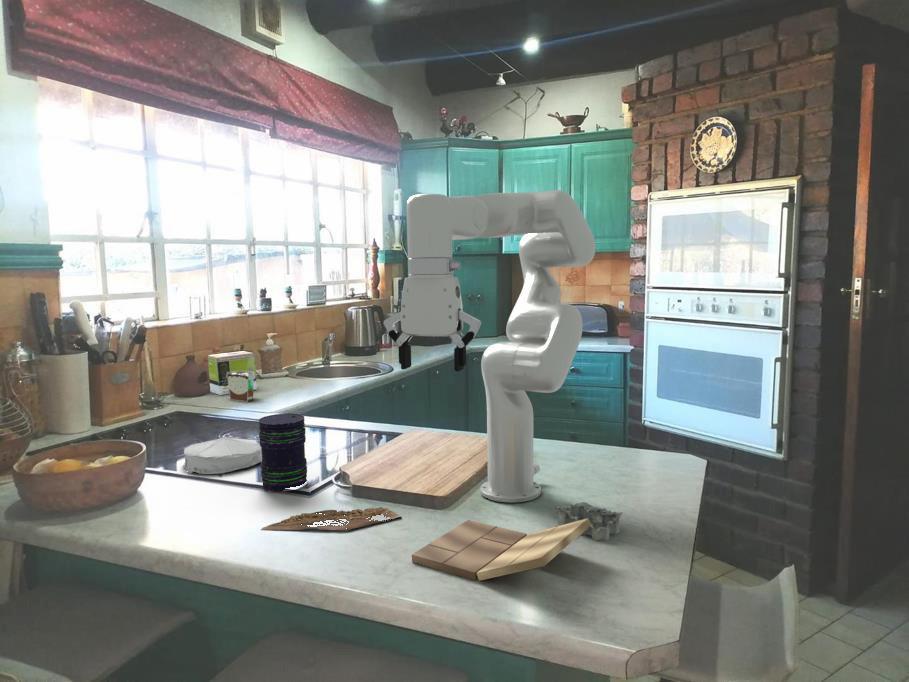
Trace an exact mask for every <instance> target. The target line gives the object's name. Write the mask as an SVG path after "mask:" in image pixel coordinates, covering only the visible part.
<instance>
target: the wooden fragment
mask: <svg viewBox="0 0 909 682" xmlns="http://www.w3.org/2000/svg"><path fill="white" fill-rule="evenodd" d="M374 508H375V509H374ZM337 511H338V510H337V509H325V510H320V511H315V512H309V513H307V512H306V513H303V512H302V513H301V514H296V515H291V516H290V517H289V518H286V519H282V520H280V521H279V522H275V523H270V524H268V525H266V526H264V527H262V528H261V529H260V531H264V530H265V531H270V530H271V531H272V530H273V531H274V530H275V531H276V530H279V531H280V530H281V531H282V530H288V531H289V530H290V531H291V530H292V531H295V530H297V531H298V530H299V531H300V530H321V531H324V530H325V531H343V532H349V531H351V530H354V529H357V528H361V527H362V528H363V527H365V526H370V525H375V524H378V523H382V522H387V521H386V520H385V521H383V520H382V521H378V520H375V521H374V519H373V520H371V518H372V516H376V515H381V514H383V515H384V517H385V516H386V518H387V517H390V520H391V519H392V520H394V519H396V518H400V517H401V518H402V516H401V515H400V514H398V513H396V512H395V511H392V510H390V509H389V508H387V507H383V506H382V507H381V506H379V507H372V508H371V507H370V508H369V507H368V508H365V509H364V511H363V509H352V510H351V511H350V510H347V511H345V510H339V511H338V512H337ZM316 513H317V514H316ZM319 513H322V514H319ZM386 513H387V514H386ZM324 514H325V515H324ZM344 515H345V516H344ZM368 517H370V518H368ZM366 518H368V519H366ZM339 519H346V520H347V521H349V523H348V522H347V521H346V522H344V521H342V520H339ZM326 520H334V521H336V522H339V523H341V522H340V521H342V522H344V523H345V524H344V523H341V524H343V526H342V525H341V526H340V525H338V526H335V525H334V526H333V525H331V524H338V523H330V525H327V526H326V525H325V526H317V527H310V526H309V527H308V526H307V525H313V523H314V522H320V521H322V522H323V523H326V522H324V521H326ZM337 520H338V521H337ZM369 520H371V521H369ZM390 520H389V521H390ZM392 520H391V521H392ZM334 521H332V522H334ZM328 523H329V522H328ZM347 523H348V524H347ZM301 524H302V525H301ZM326 524H327V523H326ZM346 524H347V525H346ZM315 525H317V524H315ZM318 525H319V524H318ZM320 525H323V524H320ZM346 528H347V529H346Z"/></svg>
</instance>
